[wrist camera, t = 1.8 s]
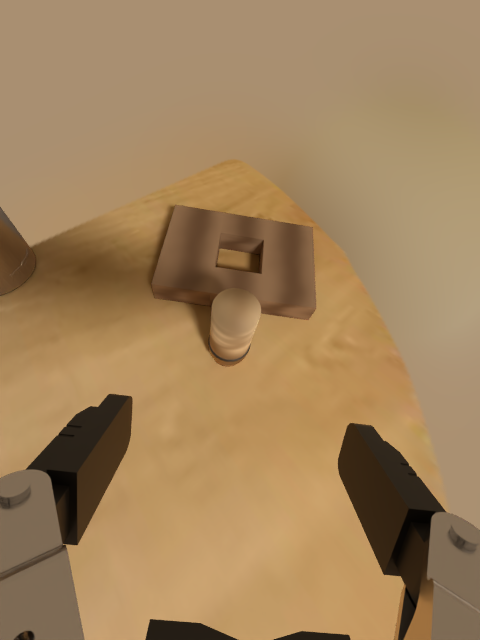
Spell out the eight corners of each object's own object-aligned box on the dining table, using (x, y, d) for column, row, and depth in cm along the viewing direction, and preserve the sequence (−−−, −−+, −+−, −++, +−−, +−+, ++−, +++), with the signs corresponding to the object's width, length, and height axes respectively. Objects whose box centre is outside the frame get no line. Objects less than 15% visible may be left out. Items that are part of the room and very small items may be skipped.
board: (154, 298, 36) (151, 284, 34) (176, 221, 43) (175, 204, 41) (308, 320, 38) (316, 308, 35) (306, 241, 44) (312, 227, 42)
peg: (205, 367, 33) (206, 327, 24) (210, 332, 35) (214, 283, 26) (244, 373, 33) (260, 335, 24) (248, 337, 35) (263, 291, 27)
